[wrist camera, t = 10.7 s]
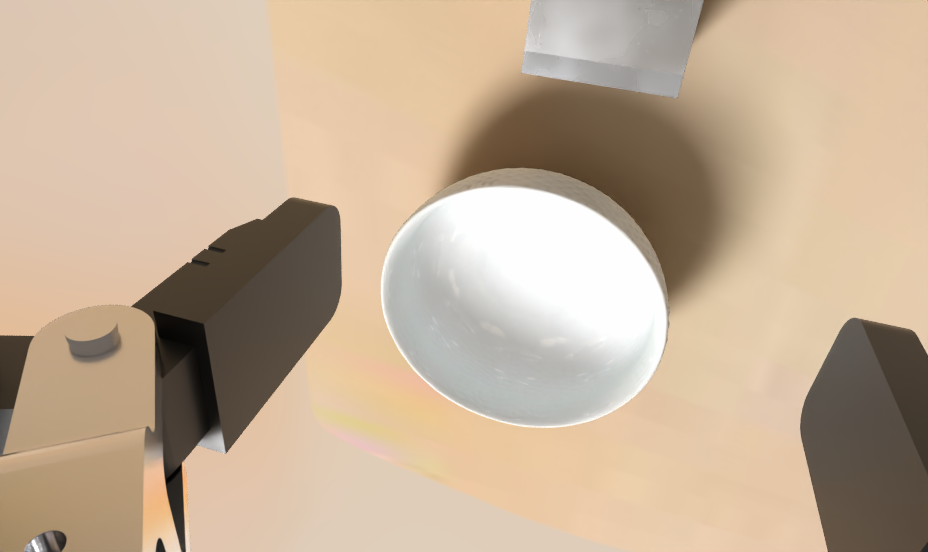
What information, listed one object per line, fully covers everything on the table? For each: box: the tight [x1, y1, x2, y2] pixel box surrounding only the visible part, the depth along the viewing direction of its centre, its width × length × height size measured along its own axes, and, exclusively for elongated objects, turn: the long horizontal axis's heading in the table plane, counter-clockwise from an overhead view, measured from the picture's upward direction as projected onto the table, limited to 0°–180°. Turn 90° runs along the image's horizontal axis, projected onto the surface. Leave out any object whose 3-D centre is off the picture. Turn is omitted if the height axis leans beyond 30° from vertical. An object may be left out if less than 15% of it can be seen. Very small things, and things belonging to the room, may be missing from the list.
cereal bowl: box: [381, 167, 669, 428], centre depth 40 cm, size 17×17×7 cm
